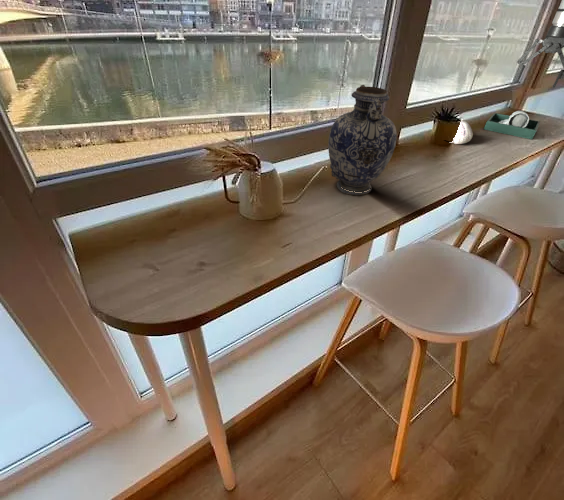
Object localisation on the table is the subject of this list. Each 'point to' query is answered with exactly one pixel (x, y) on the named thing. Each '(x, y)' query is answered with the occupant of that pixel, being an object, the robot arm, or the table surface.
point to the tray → (509, 129)
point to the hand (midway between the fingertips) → (535, 84)
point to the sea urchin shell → (463, 133)
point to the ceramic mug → (517, 119)
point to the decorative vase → (361, 142)
